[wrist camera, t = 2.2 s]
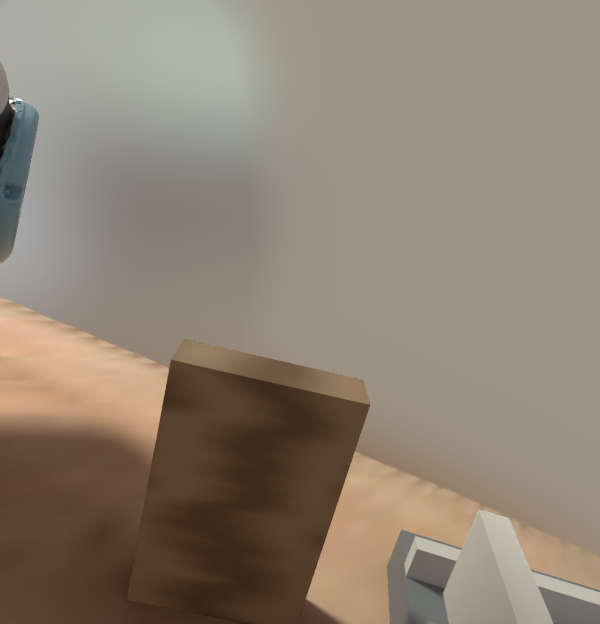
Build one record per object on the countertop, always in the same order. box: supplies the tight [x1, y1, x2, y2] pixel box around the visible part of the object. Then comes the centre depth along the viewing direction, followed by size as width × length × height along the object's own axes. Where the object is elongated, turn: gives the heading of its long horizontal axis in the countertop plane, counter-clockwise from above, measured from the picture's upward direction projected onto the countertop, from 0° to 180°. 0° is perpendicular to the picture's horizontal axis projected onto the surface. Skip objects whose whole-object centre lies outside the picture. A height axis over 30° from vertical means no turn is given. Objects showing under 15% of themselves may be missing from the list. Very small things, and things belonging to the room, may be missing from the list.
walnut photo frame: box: [126, 339, 370, 624], centre depth 25 cm, size 9×3×14 cm, turn 90°
